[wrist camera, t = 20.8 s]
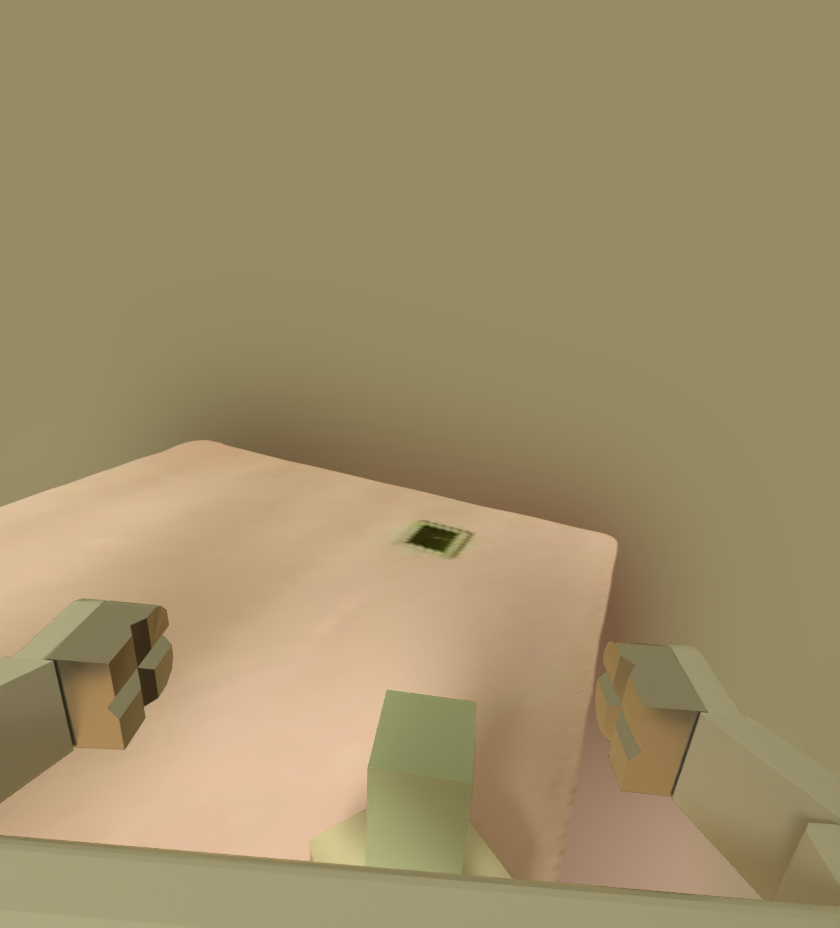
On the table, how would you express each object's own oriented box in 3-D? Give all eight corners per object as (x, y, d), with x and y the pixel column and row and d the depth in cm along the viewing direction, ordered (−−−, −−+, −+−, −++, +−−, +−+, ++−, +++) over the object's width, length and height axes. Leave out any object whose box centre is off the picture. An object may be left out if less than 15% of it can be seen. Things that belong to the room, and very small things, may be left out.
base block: (381, 1065, 27) (383, 1007, 25) (311, 894, 34) (309, 840, 32) (515, 952, 31) (525, 896, 30) (430, 822, 38) (434, 771, 37)
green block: (364, 902, 29) (367, 767, 25) (382, 814, 34) (386, 689, 30) (456, 919, 28) (473, 783, 25) (461, 827, 33) (475, 701, 30)
